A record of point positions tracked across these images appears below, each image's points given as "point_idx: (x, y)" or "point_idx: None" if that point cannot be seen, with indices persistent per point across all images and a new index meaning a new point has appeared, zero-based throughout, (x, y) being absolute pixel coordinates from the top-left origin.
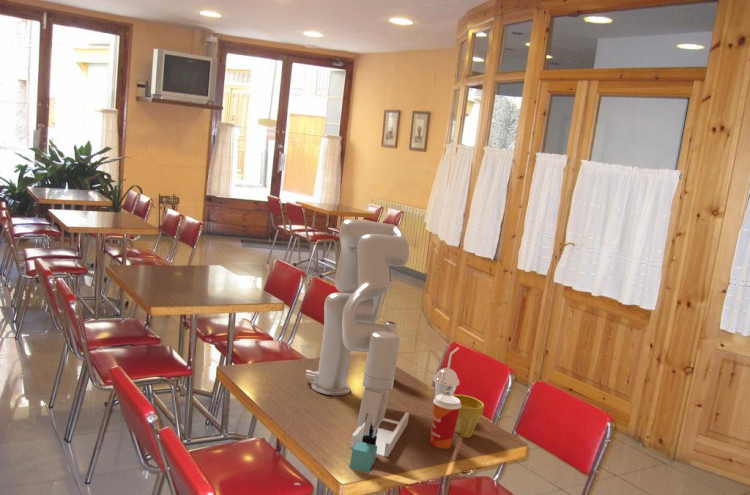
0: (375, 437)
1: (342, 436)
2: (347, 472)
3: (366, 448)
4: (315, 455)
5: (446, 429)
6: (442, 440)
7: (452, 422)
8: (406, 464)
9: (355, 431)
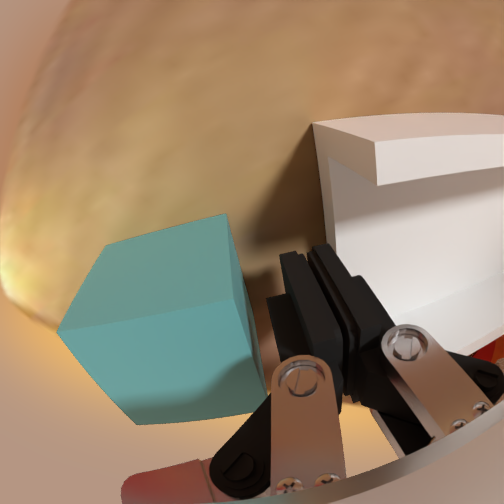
0: (350, 393)
1: (452, 22)
2: (64, 261)
3: (162, 392)
4: (83, 4)
5: None
6: None
7: None
8: None
9: (457, 140)
